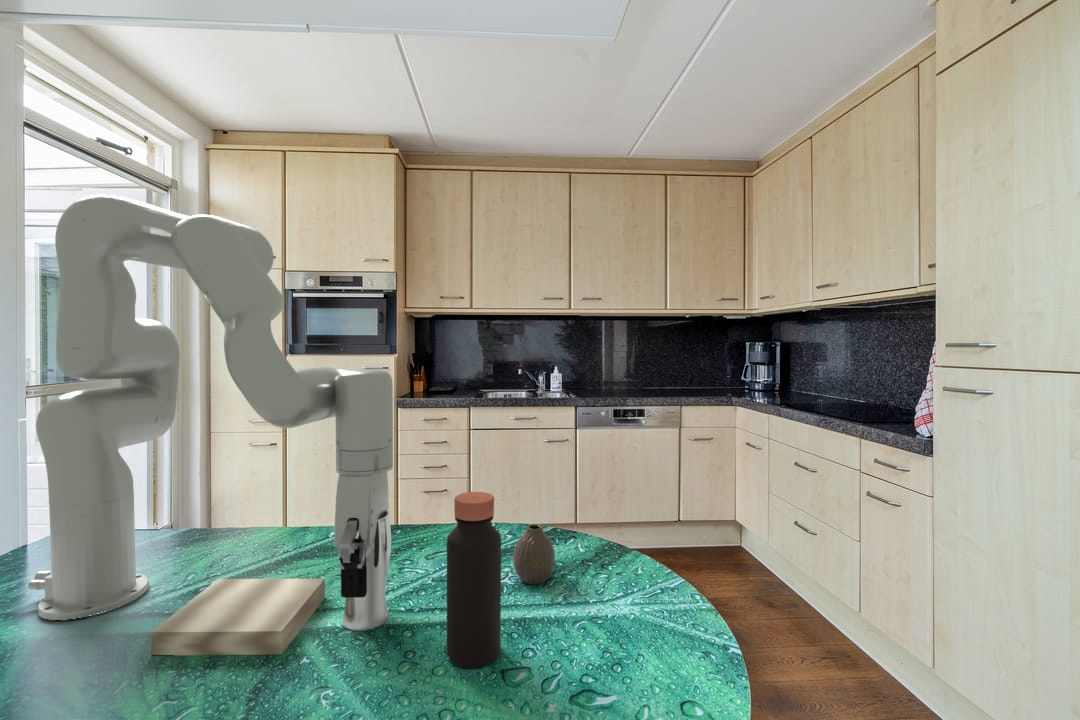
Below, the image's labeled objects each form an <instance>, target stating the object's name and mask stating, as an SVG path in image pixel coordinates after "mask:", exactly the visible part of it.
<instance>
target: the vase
mask: <svg viewBox="0 0 1080 720" xmlns="http://www.w3.org/2000/svg"><path fill="white" fill-rule="evenodd" d="M512 559H513V560H512V561H513V567H514V570H515V573H516V575H517V576H518V578H519V579H520V580H521V581H522V582H524V583H525V584H526V583H527V584H530V585H538V584H539V583H540V584H543V583H544V582H546V581H547V580H548V579H549V578H550V577H551V575H552V574H553V572H554V571H553V570H554V567H555V564H556V563H555V561H556V553H555V548H554V545H553V543H552V541H551V539H550V538H549V537H548V535H547V534H546V533H545V532H544V529H543V527H542V525H540V524H536V523H535V524H534V523H533V524H529V525H527V527H526V529H525V531H524V532H523V534H522V535H521V536H520V537H519V538H518V539H517V542H516V543H515V546H514V549H513V554H512ZM540 584H539V585H540Z"/></svg>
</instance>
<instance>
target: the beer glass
mask: <svg viewBox="0 0 1080 720" xmlns="http://www.w3.org/2000/svg"><path fill="white" fill-rule="evenodd" d="M390 513H391V512H390V511H389V510H386V516H385V517H383V518H381V519H378V520H377V527H376V534H375V539H374V544H373V545H371V546H370V547H369V548H367V551H366V557H365V562H364V566H367V594H366V596H365V597H345V604H344V611H343V615H342V616H343V617H342V624H343V626H344V627H345V628H346V629H347V630H349V631H356V632H364V631H369V630H373V629H376V628H378V627H380V626H382V625H383V624H384V623H386V621H387V620H388V618H389V611H388V606H387V600H386V599H387V597H386V586H387V585H386V584H387V577H388V572H389V569H390V567H389V566H390V560H391V553H392V529H391V528H392V527H391V520H390V518H391V517H390ZM354 543H363V540H362V538H361V536H360V533H359V531H358V532H357V534H356V537H355V540H354ZM353 553H356V555H357V556H358V558H359V554H360V550H353ZM338 556H339V557H338V559H339V558H340V552H339V551H338Z"/></svg>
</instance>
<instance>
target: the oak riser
mask: <svg viewBox="0 0 1080 720" xmlns="http://www.w3.org/2000/svg"><path fill="white" fill-rule="evenodd" d="M325 583H326V578H217V579H216V580H214V582H212V583H211V584H210V585H208V586H207V587H206V588H205V589H203V590H202V591H201V592H199V593H198V594H197V595H196V596H195V597H193V598H192V599H191V600H189V601H188V602H187V603H185V604H184V605H183V606H182V607H181V608H178V610H177V611H175V612H174V613H173V614H172V615H171V616H169V617H168V618H167V619H165V620H164V621H163V622H162V623H160V624H159V625H157V626H156V627H155V628H154V629H153V630H152V631H150V655H174V656H255V655H257V656H258V655H259V656H260V655H264V656H266V655H267V656H268V655H270V656H272V655H273V656H275V655H276V656H277V655H279V656H280V655H281V656H282V655H283V654H284V652H285V651H286V650H287V649H288V647H289V646H290V644H291V643H292V641H293V640H294V639H295V638H296V637H297V635H298V634H299V632H301V630H302V629H303V627H304V626H305V625H306V623H307V622H308V621H309V619H310V618H311V617H312V615H313V614H314V613H315V612H316V611H317V609H318V608H319V606H320V605H321V604H322V602H323V601H324V600H325V598H326V587H325V586H326V584H325Z"/></svg>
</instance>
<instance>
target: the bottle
mask: <svg viewBox="0 0 1080 720" xmlns="http://www.w3.org/2000/svg"><path fill="white" fill-rule="evenodd" d="M494 515H495V497H494V495H493V494H491V493H489V492H485V491H467V492H462V493H460V494H457V495H456V496H455V497H454V520H455V522H456V526H455V527H454V528H453V529H452V531H451V532H449V534H448V535H447V538H446V656H447V658H448V661H450V663H452V664H454V665H455V666H457V667H460V668H463V669H464V668H466V669H478V668H482V667H485V666H487V665H489V664H491V663H494V661H496V659H497V658H498V657H499V655H500V652H501V640H502V639H501V638H502V637H501V635H502V634H501V633H502V632H501V627H502V626H501V623H502V622H501V621H502V620H501V618H502V617H501V616H502V614H501V611H502V610H501V609H502V606H501V605H502V604H501V603H502V583H501V582H502V534H501V533H500V532H499V531H498V529H496V528H495V527H494V525H492V521H493V519H494Z"/></svg>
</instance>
